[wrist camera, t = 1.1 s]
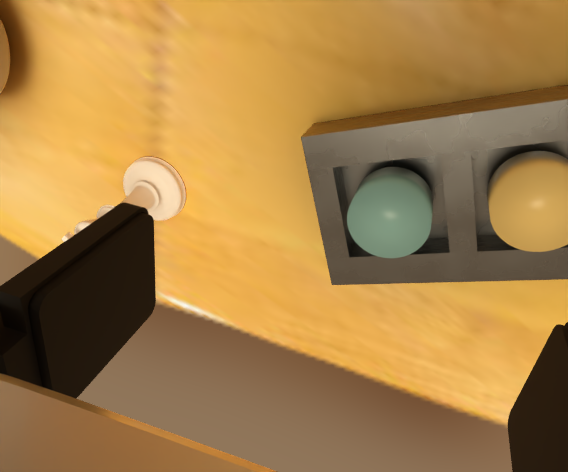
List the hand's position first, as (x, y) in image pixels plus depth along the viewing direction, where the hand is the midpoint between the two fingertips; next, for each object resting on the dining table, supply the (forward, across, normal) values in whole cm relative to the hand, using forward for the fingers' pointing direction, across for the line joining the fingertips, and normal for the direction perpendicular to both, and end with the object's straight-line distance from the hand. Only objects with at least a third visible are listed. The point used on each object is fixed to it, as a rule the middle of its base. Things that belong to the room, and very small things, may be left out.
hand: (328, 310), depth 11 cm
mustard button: (+18, -8, +3) cm, 20 cm away
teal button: (+18, -1, +5) cm, 19 cm away
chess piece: (+21, +16, +9) cm, 28 cm away
